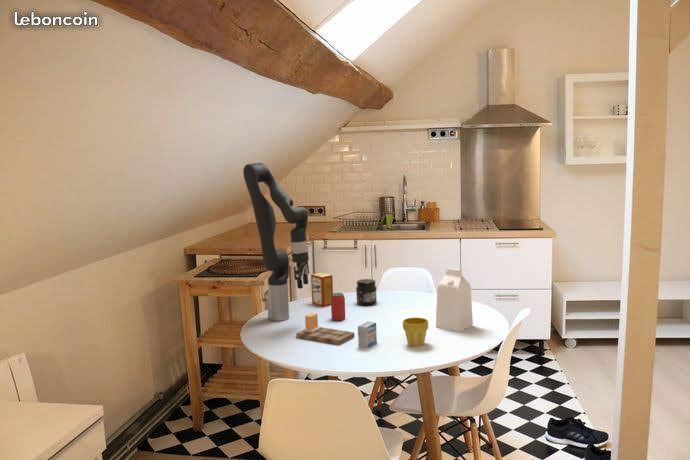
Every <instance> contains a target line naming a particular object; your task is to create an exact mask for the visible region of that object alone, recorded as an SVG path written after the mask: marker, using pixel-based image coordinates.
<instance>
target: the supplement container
mask: <svg viewBox="0 0 690 460" xmlns="http://www.w3.org/2000/svg"><path fill="white" fill-rule="evenodd" d="M355 289H356V291H355V292H356V304H357V305H359V306H361V307H362V306H363V307H368V306H374V305H376V304H377V303H378V300H377V297H378V296H377V290H378V289H377V286H376V280H375V279H371V278H364V279H359V280H357V281H356V287H355Z"/></svg>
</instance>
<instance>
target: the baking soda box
mask: <svg viewBox="0 0 690 460" xmlns="http://www.w3.org/2000/svg"><path fill="white" fill-rule="evenodd" d="M310 279H311V280H310V281H311V304H312V305H314V304H315V306H318V307H321V306H322V307H321V308H326V307H329V306H330V305H331V297H332V294H334V288H333V287H334V286H333V282H334V281H333V274H329V273H326V272H318V273H312V274H310ZM330 307H331V306H330Z"/></svg>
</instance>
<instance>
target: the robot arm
mask: <svg viewBox="0 0 690 460" xmlns="http://www.w3.org/2000/svg"><path fill="white" fill-rule="evenodd" d="M242 173H243V179H244V182H245V185H246V188H247V191H248V195H249V197H250V200H251V201H250V202H251V204H252V209H253V213H254V219H255V222H256V223H255V224H256V225H257V232H258V235H259V240H260V244H261V245H260V247H261V253H262V261H263V265H264V267H265V268H266V269H267V270H268V271H269V272H272V273H271V274H270V276H269V277H268V278H267V287H268V289H267V290H268V298H267V300H266V301H267V304H266V305H267V318H268V320H270V321H273V322H275V321H276V322H281V321H287V320H289V318H290V311H289V310H290V308H289V307H290V306H289V287H288V286H289V285H288V279H289V276H290V259H289V255H288V253H287V251H285V250H284V249H277V248H276V247H275V246H276V245H275V232H276V226H277V221H276V220H277V217H276V215H275V211H274V207H273V205H272V204H271V203H270V201H268V198H266V197H265V195H263V193H262V191H261V189H260V184H259V183H263V184H265V186H267V188H268V190H269V195H270V198H271V200H272V202H273V203H274V204H275V205H276V206H277V208H279V209H280V213H281V214H282V216H283V218H284V220H285V221H286V222H287V223H288V224H291V225H292V224H295V227H294V228H291V230H290V233H289V234H290V250H291V260H292V261H291V262H292V263H295V264H296V266H293V275H294V281H296V285H297V289H301V290H302V289H303V288H304V287H303V286H304V285H308V284H309V274H310V266H309V260H310V257H309V248H308V247H309V246H308V241H307V232H306V231H307V227H308V219H309V213H308V210H307V209H306V208H305V207H304V206H296V207H294V200H293V199H292V197H290V196H289V194H288V193H287V192H286V191H285V190H284V189H283V188H282V186H281V185H280V184H279V182H278V181H277V179H276V178H275V176H274V174H273V173H272V172H271V169H270V168H269V167H268V166H267V165H266V164H265V163H263V162H255V163H248V164H245V165H244V167H243V171H242Z"/></svg>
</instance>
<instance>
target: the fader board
mask: <svg viewBox="0 0 690 460" xmlns="http://www.w3.org/2000/svg"><path fill="white" fill-rule="evenodd" d="M319 327H320V330H318V331H315V332H313V333H310V332H304V331H303V329H302V330H300V331H298V332H296V333H295V334H296V335H295V337H296V339H301V340H306V341H307V340H308V341H313V342H318V343H324V344H329V345H330V344H331V345H336V346H341V345H343V344H344V343H346V342H348V341H350V340H351V339H353V338H355V332H353V331H347V330H341V329H333V328H328V327H323V326H319Z"/></svg>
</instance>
